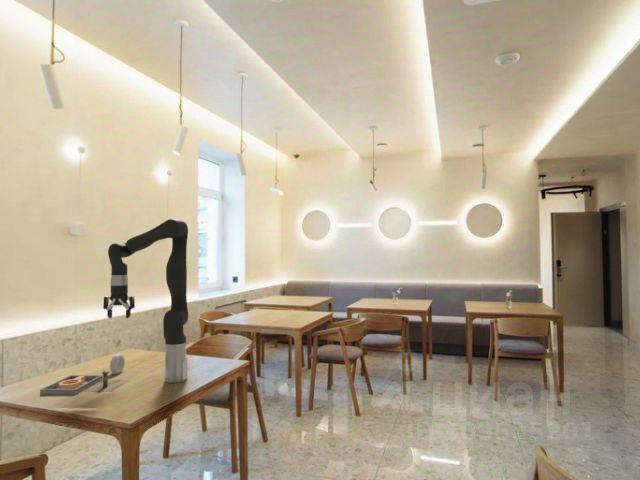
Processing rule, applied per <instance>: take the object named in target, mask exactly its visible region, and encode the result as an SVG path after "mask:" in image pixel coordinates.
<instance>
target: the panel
mask: <svg viewBox="0 0 640 480" xmlns="http://www.w3.org/2000/svg"><path fill="white" fill-rule="evenodd" d="M108 374H110V372H109V370H104V371H102V372H101V375H103V380H101V381H99V382H98V383H96V384H94V385H92V386H90V387H89V388H87V389H85V390H83V393H85V392H86V393H89V392H90V393H92V392H93V393H99V392H103V393H105V392H110V393H111V392H113V391H115V390H117V389H118V388H120V387H122V386H124V384H126V383H128V382H129V381H130V379H108V377H109V375H108Z"/></svg>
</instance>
